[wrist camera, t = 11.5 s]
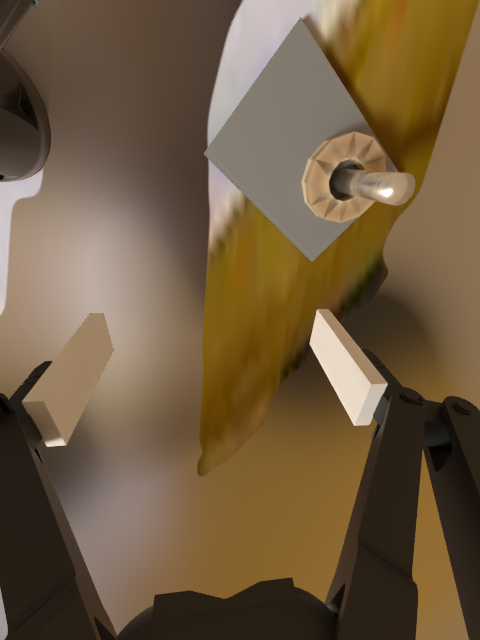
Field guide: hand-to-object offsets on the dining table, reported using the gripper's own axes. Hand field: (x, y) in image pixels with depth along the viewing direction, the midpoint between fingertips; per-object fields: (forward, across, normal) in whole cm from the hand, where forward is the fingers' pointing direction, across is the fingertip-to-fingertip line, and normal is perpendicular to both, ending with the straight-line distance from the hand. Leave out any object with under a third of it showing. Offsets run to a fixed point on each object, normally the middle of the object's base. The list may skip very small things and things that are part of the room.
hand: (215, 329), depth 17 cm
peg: (+29, +19, +7) cm, 36 cm away
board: (+31, +14, +9) cm, 35 cm away
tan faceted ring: (+29, +19, +7) cm, 36 cm away
